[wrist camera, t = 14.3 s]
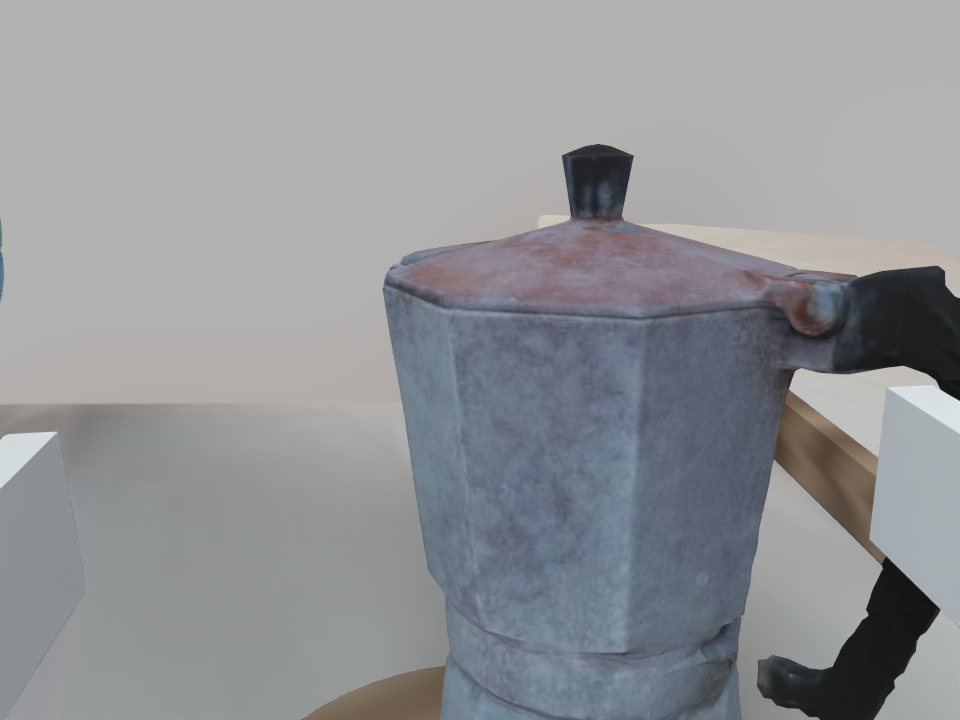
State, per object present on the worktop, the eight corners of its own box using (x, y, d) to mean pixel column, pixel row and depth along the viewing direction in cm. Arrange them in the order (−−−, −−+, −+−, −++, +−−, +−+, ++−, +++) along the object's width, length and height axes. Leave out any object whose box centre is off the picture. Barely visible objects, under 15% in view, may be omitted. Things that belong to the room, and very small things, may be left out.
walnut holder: (934, 589, 40) (944, 508, 39) (531, 619, 39) (529, 537, 38) (785, 450, 56) (789, 390, 55) (495, 468, 55) (493, 407, 54)
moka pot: (482, 702, 32) (496, 132, 27) (951, 942, 23) (1115, 158, 18) (275, 871, 25) (236, 136, 20) (840, 1317, 16) (1063, 184, 11)
